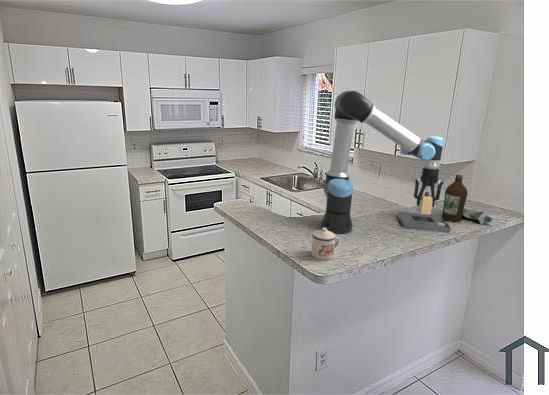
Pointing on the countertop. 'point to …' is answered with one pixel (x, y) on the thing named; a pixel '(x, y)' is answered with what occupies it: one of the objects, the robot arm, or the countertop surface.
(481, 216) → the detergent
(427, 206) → the plug
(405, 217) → the socket plate
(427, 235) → the countertop surface
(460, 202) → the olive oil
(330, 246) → the teacup with lid
